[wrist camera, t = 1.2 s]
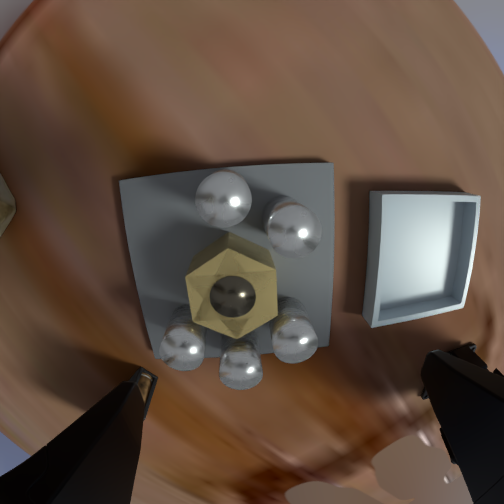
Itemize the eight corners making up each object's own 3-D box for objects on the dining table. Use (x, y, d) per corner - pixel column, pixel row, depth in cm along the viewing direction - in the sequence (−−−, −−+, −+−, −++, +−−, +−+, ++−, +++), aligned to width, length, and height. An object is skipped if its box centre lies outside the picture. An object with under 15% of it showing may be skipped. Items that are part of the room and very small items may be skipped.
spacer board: (326, 340, 23) (328, 345, 22) (157, 353, 23) (155, 358, 22) (329, 162, 19) (333, 162, 18) (123, 179, 18) (118, 180, 17)
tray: (451, 298, 23) (463, 307, 21) (361, 315, 23) (371, 327, 21) (465, 192, 20) (480, 196, 18) (369, 190, 19) (382, 194, 18)
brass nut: (271, 307, 21) (278, 336, 17) (202, 313, 21) (196, 342, 17) (267, 228, 19) (275, 244, 16) (191, 234, 19) (181, 252, 15)
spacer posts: (303, 348, 22) (315, 381, 18) (179, 357, 22) (171, 391, 18) (302, 164, 18) (320, 166, 14) (147, 177, 18) (126, 183, 14)
